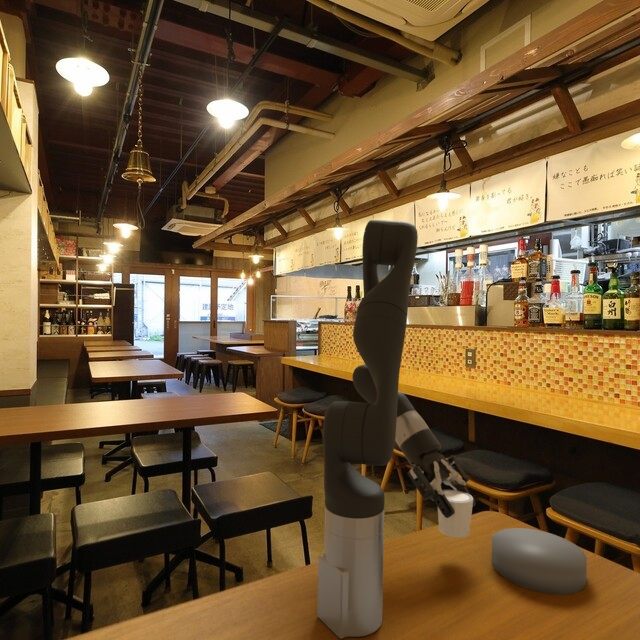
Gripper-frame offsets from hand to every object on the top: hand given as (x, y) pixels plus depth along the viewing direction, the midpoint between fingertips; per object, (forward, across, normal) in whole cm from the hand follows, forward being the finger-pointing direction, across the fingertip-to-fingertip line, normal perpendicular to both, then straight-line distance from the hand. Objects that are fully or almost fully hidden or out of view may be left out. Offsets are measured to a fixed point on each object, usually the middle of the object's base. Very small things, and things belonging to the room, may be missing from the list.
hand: (461, 510), depth 87 cm
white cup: (+2, 0, +4) cm, 5 cm away
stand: (+14, +9, -1) cm, 17 cm away
